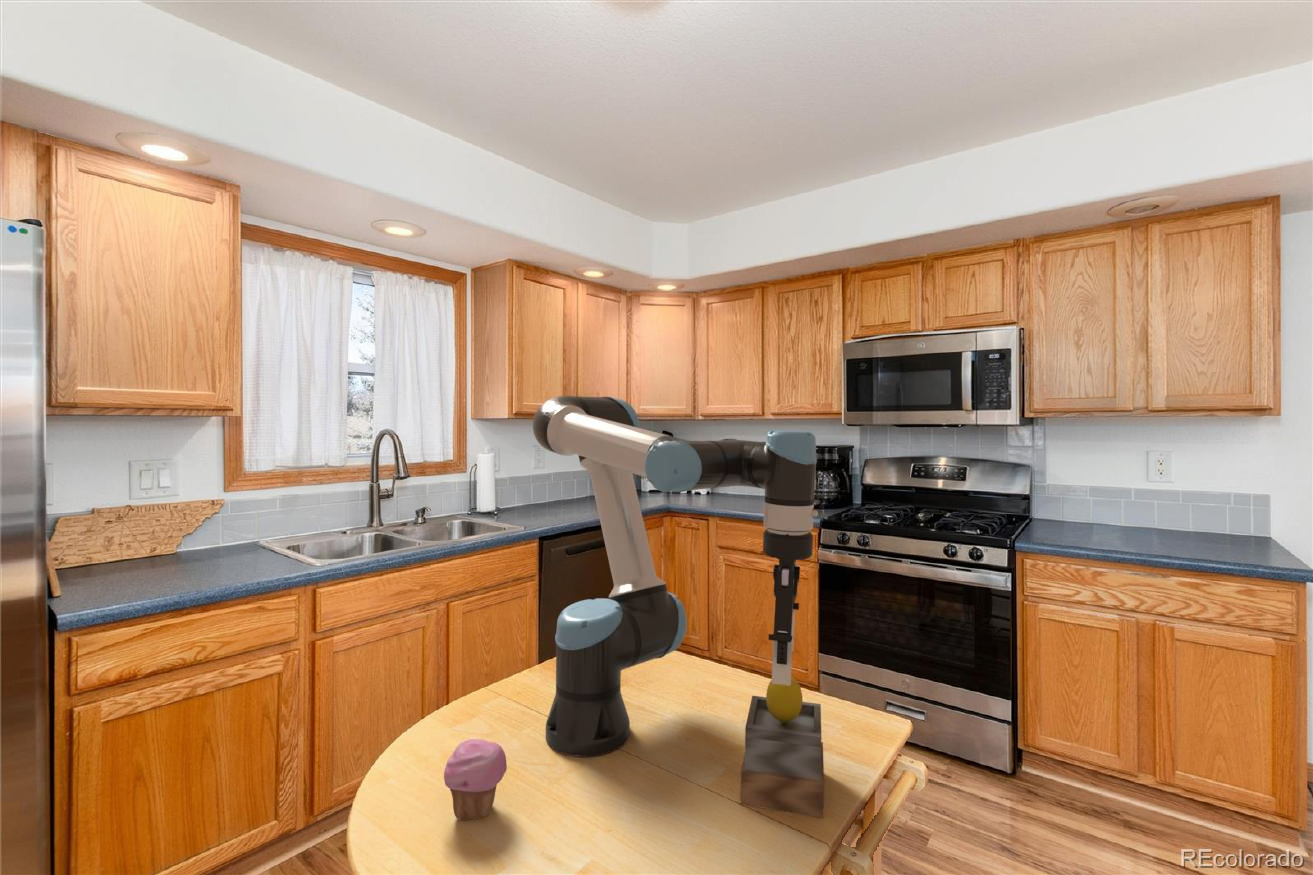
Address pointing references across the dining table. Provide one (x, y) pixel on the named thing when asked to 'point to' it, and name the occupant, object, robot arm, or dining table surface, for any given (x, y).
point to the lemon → (784, 701)
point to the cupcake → (474, 777)
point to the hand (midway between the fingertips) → (783, 665)
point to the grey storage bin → (783, 761)
